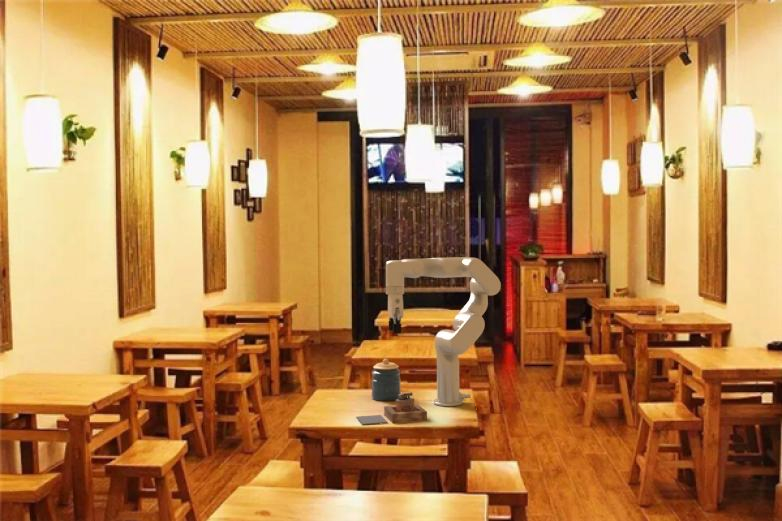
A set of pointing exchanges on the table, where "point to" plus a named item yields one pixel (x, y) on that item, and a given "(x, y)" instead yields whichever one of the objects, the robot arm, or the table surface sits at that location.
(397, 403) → the lighter
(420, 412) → the frame
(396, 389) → the canister
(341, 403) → the table surface
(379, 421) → the charcoal mat
